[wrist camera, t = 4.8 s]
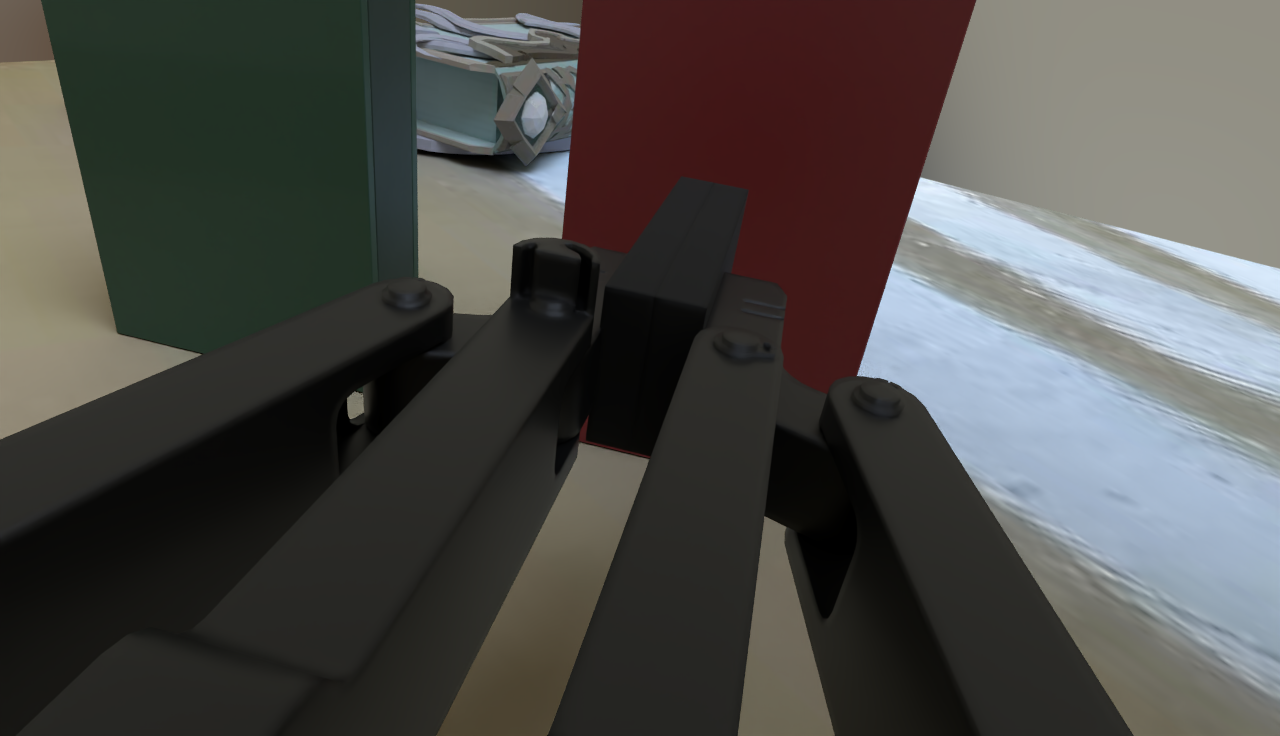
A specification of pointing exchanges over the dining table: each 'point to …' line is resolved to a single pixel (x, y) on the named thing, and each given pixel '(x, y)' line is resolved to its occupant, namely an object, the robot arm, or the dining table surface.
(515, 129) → the ornate book
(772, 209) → the burgundy book
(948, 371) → the dining table surface
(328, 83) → the green book
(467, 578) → the robot arm
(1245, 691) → the dining table surface
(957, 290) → the dining table surface
